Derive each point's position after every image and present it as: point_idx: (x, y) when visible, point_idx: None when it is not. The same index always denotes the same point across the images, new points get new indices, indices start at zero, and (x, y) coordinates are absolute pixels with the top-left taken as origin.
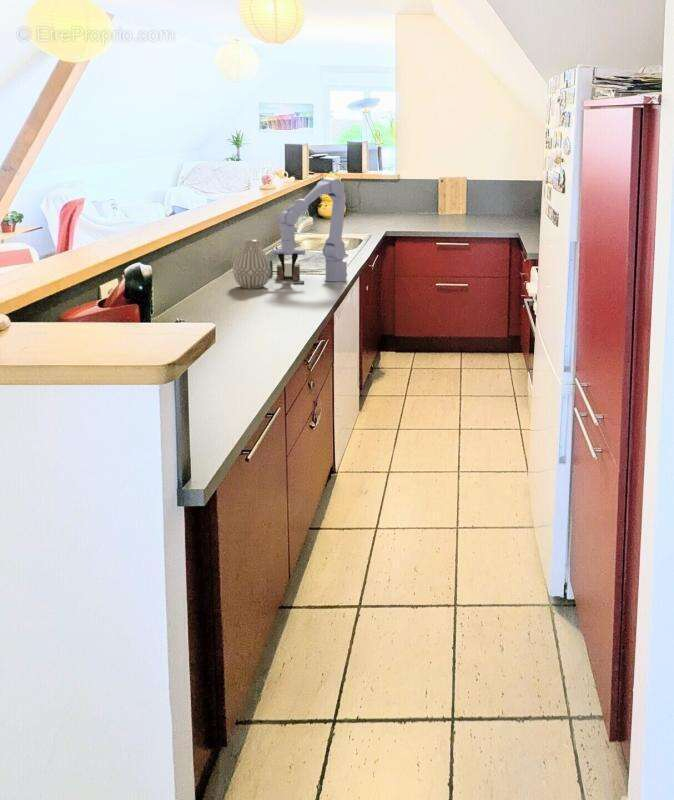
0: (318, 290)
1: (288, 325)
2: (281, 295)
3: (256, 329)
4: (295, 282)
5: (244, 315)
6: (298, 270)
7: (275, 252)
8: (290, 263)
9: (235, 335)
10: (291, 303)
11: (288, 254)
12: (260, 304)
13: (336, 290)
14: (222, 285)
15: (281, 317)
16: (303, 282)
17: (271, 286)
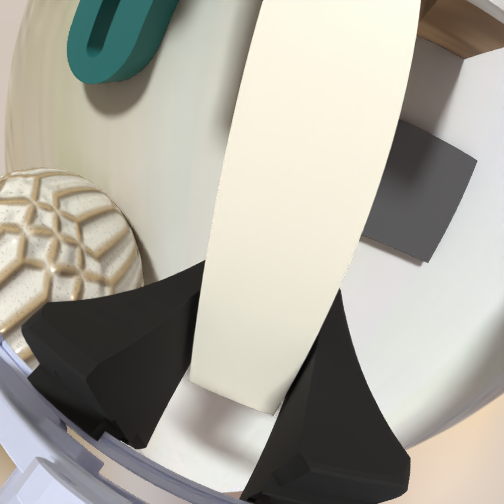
0: (387, 407)
1: (206, 479)
2: (212, 405)
3: (172, 466)
4: (378, 208)
5: (149, 440)
6: (491, 38)
7: (8, 385)
8: (258, 408)
9: (156, 462)
10: (226, 451)
11: (186, 484)
12: (162, 425)
13: (447, 419)
14: (25, 166)
15: (199, 468)
16: (438, 233)
17: (182, 248)
